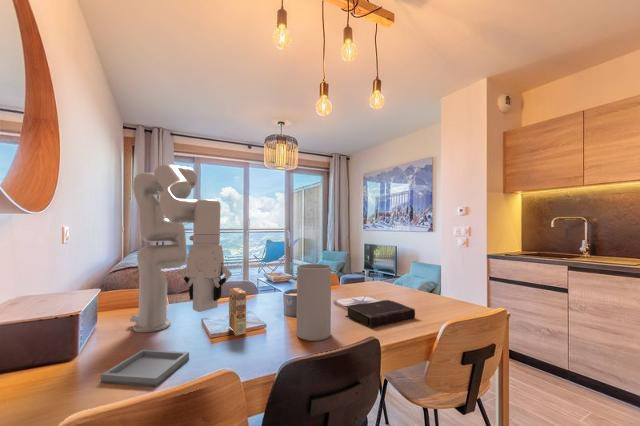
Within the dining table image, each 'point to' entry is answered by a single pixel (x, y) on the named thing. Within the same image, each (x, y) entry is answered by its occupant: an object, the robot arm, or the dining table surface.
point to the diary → (380, 313)
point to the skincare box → (203, 293)
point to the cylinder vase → (313, 302)
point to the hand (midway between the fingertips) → (205, 298)
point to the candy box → (237, 310)
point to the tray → (145, 368)
